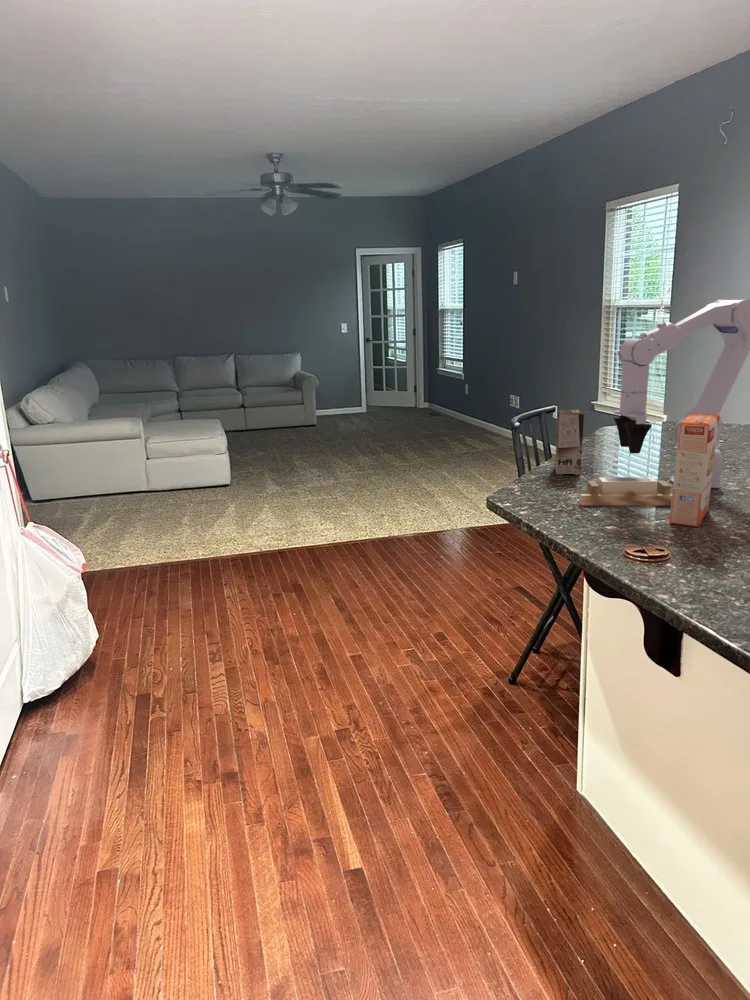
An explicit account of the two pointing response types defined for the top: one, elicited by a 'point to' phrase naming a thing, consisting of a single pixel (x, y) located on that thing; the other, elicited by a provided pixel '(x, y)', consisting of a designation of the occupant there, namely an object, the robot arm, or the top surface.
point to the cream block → (627, 485)
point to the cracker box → (694, 468)
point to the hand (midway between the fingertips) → (629, 449)
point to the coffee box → (569, 441)
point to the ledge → (626, 496)
